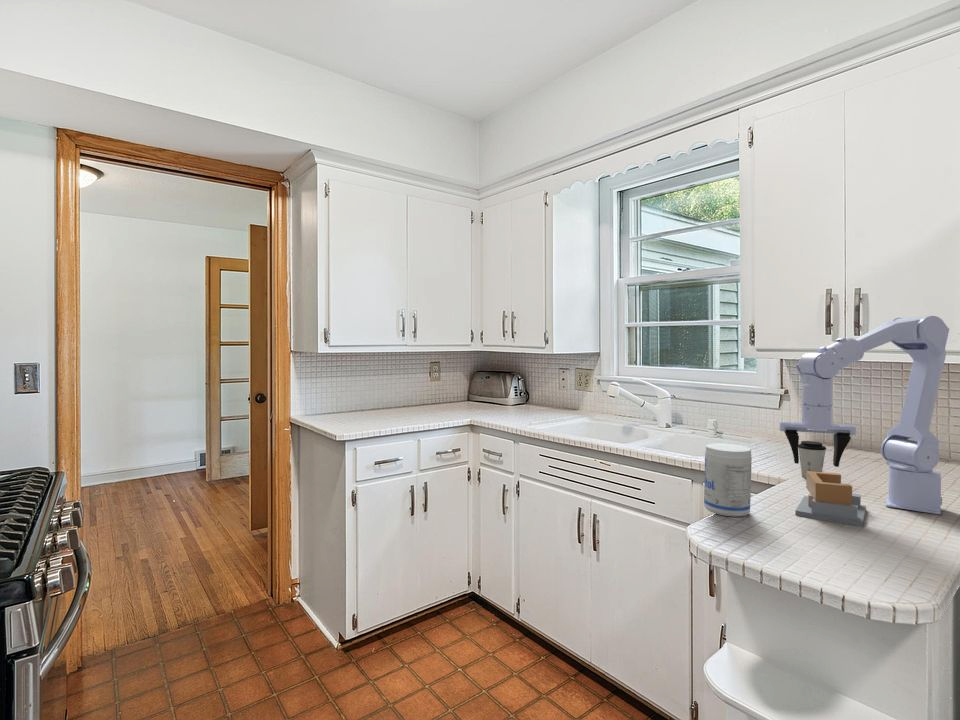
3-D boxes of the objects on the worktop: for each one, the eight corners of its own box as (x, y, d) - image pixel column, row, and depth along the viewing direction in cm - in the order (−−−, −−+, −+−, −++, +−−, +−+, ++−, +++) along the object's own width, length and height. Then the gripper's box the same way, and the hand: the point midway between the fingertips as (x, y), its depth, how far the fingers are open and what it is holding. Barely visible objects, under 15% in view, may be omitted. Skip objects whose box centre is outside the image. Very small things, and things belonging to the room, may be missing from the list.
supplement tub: (696, 505, 122) (696, 443, 121) (734, 503, 123) (734, 442, 122) (719, 519, 112) (719, 451, 112) (760, 517, 113) (761, 450, 113)
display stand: (865, 510, 118) (866, 494, 118) (862, 526, 107) (862, 510, 107) (804, 500, 125) (804, 485, 125) (795, 514, 114) (795, 499, 114)
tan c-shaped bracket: (839, 490, 121) (839, 473, 121) (851, 505, 110) (852, 486, 110) (806, 487, 124) (806, 470, 124) (815, 501, 113) (815, 483, 113)
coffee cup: (832, 479, 145) (832, 443, 144) (813, 481, 142) (813, 445, 142) (809, 473, 151) (809, 439, 151) (791, 475, 149) (791, 441, 149)
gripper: (851, 404, 118) (850, 463, 119) (778, 401, 124) (777, 457, 125) (858, 408, 112) (857, 470, 112) (781, 405, 118) (780, 464, 118)
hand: (815, 464), depth 118 cm, fingers open, 7 cm apart
